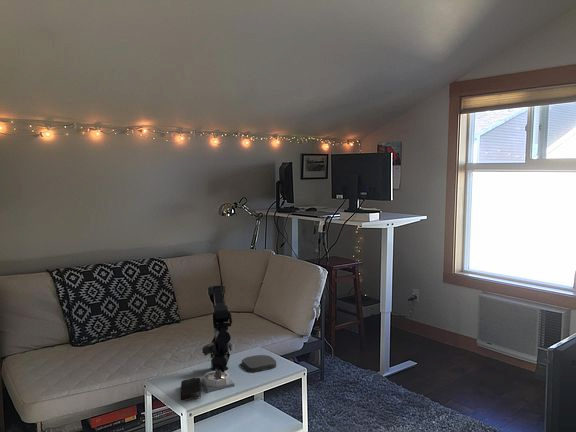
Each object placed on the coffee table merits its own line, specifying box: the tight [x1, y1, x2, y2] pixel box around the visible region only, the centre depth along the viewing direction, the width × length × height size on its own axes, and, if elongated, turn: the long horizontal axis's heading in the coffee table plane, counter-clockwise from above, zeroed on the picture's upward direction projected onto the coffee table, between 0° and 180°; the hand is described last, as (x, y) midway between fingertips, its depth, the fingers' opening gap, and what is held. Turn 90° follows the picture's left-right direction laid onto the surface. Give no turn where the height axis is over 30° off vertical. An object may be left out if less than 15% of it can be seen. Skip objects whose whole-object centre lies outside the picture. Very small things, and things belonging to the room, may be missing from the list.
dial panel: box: [200, 370, 235, 393], centre depth 221 cm, size 12×12×4 cm
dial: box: [207, 368, 225, 380], centre depth 221 cm, size 8×8×6 cm
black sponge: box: [179, 377, 202, 402], centre depth 213 cm, size 16×8×4 cm, turn 11°
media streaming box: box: [241, 354, 277, 373], centre depth 242 cm, size 15×15×3 cm
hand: (223, 372), depth 220 cm, fingers closed
